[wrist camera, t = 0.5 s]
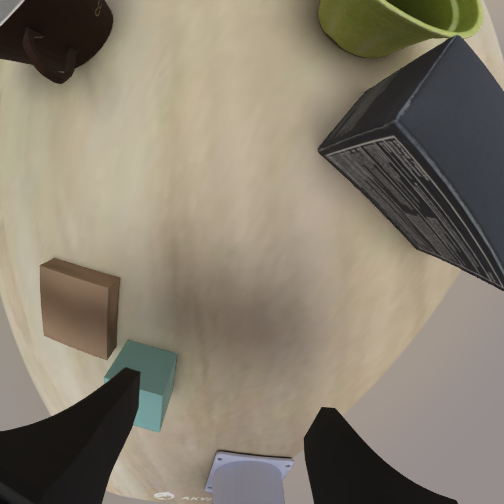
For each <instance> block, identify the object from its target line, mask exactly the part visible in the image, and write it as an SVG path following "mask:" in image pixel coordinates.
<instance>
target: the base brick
mask: <svg viewBox="0 0 504 504" xmlns="http://www.w3.org/2000/svg"><path fill="white" fill-rule="evenodd" d="M119 283H120V278H118V277H115V276H111V275H108V274H104V273H101V272H97V271H94V270H91V269H87V268H84V267H81V266H78V265H74V264H71V263H68V262H65V261H62V260H59V259H55V258H54V259H52V260H50V261H48V262H46V263H44V264H42V265H40V293H41V309H42V321H43V331H44V336H46V337H49V338H51V339H53V340H56V341H58V342H60V343H63V344H65V345H68V346H70V347H73V348H75V349H78V350H80V351H83V352H85V353H88V354H91V355H93V356H96V357H99V358H102V359H105V360H108V358H109V357H110V355H111V354H112V352H113V351H114V349H115V348H116V337H117V312H118V296H119Z"/></svg>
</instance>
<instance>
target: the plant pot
mask: <svg viewBox="0 0 504 504" xmlns="http://www.w3.org/2000/svg"><path fill="white" fill-rule="evenodd" d="M318 18H319V22H320V25H321V27H322V29H323V30H324V32H325V33H326V34H327V35H329V36H330V37H331V38H332V39H333V40H334V41H335V42H336V43H337V44H338V45H339V46H340V47H341V48H342V49H344V50H346V51H348V52H349V53H352V54H354V55H357V56H360V57H366V58H379V57H383V56H385V55H388V54H390V53H393V52H395V51H397V50H400V49H402V48H405V47H407V46H410V45H413V44H416V43H419V42H422V41H425V40H428V39H431V38H451V37H453V36H455V35H460V36H461V37H462V38H463V39H465V38H468V37H471V36H473V35H475V34H476V33H477V32H478V31H479V30H480V28H481V26H482V21H483V11H482V6H481V3H480V0H320V4H319V9H318Z"/></svg>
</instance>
